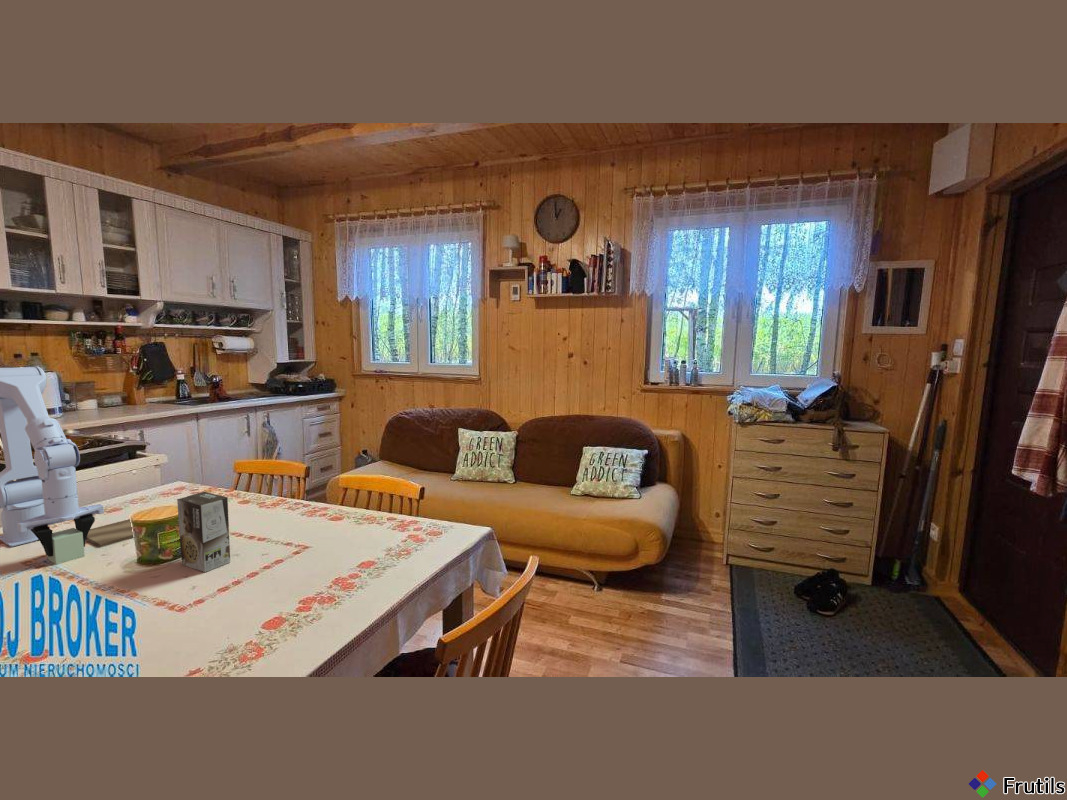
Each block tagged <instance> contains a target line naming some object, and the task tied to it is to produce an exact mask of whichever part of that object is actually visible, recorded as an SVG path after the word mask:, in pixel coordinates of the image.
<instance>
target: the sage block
mask: <svg viewBox="0 0 1067 800" xmlns="http://www.w3.org/2000/svg"><path fill="white" fill-rule="evenodd" d="M52 546H53V556H51V557H49V556H47V560H48V561H50V562H52V563H53V564H54V565H56V566H57V565H60V564H64V563H67V562H71V561H74V560H77V559H76V558H78V559H80V558H79V557H81V558H84V557H85V555H86V554H85V547H84V544H83V532H81V531H79V530H77V529H76V527H72V528H68V529H67V528H66V529H62V530H60V531H55V532H52ZM83 556H84V557H83ZM73 559H74V560H73ZM70 560H71V561H70ZM66 561H67V562H66ZM63 562H64V563H63Z"/></svg>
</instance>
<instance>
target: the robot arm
mask: <svg viewBox="0 0 1067 800" xmlns="http://www.w3.org/2000/svg"><path fill="white" fill-rule="evenodd" d="M46 386H47V375H46V372H45V371H44V369H42V368H41V367H40V366H37V365H36V366H26V367H24V366H22V367H21V366H20V367H0V438H1V445H2V450H3V457H4V464H5V468H4V469H3V470H2V471H0V510H1V509H2V511H1V513H0V517H1V526H2V534H3V535H0V541H1V542H2V543H4V544H6V546H9V547H10V548H12V547H16V546H19V545H23V544H24V545H25V544H28V543H33V542H36V541H38V542H40V543H41V546H42V548H43V549H44V553H45V555H46V556H47V557H48V556H49V557H51V556H53V546H52V533H53V529H51V527H50V525H55V524H59V523H63V522H67V521H72V520H73V521H74V524H75V525H74V526H75V529H77V530H79V531H81V532H83V544H84V548H85V547H86V543H87V540H86V538H87V535H88V532H89V530H90V529H92V526H93V525H94V523H95V521H96V518H95V516H94V515H101V514H104V513H105V512H104V511H105V510H104V505H103V504H101V503H97V504H94V505H93V504H92V505H87V506H79V495H78V485H77V473H76V472H77V470H76V467H78V466H79V465H80V462H81V455H80V451H79V448H78V445H77V444H76V443H75V442H73V441H72V439H70V438H67V437H66V435H65V433H64V430H63V429H62V426H61V425H60V423H59V421H58V420H57V419H55V418H53V417H50V416H49V413H48V409H47V407H46V404H45V403H46V402H45V401H44V398H43V394H44V392H45V388H46ZM31 446H32V447H33V448H32V447H31ZM32 449H33V450H34V455H33V453H32Z"/></svg>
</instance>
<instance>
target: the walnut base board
mask: <svg viewBox="0 0 1067 800" xmlns="http://www.w3.org/2000/svg"><path fill="white" fill-rule="evenodd" d="M130 519H131V518H129V519H124V520H121V521H117V522H113V523H110V524H105V525H101V526H98V527H94V528H93V527H92V528H90V530H89V532H88V535H87V538H86V541H88V542H90V543H91V544H93V545H95V546H97V547H99V548H102V547H106V546H110V545H113V544H116V543H120V542H123V541H127V540H130V539H134V538H133V532H132V527H131V522H130Z"/></svg>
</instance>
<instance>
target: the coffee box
mask: <svg viewBox="0 0 1067 800" xmlns="http://www.w3.org/2000/svg"><path fill="white" fill-rule="evenodd" d="M176 500H177V501H176V502H177V514H178V532H179V543H180V558H181V560H180V561H181V565H183V566H185V567H189V568H191V567H192V568H191V569H194V568H195V569H194V570H197V571H200V572H202V571H203V573H206V571H207V572H209V571H212V570H215V569H217V568H220V567H222V566H224V565H227V564H229V563H230V562H231V544H230V527H229V526H230V524H229V523H230V522H229V504H228V503H229V502H228V500H229V497H227V496H224V495H219V494H216V493H211V492H207V491H202V492H198V493H194V494H191V495H187V496H185V497H180V498H177V499H176Z"/></svg>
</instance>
